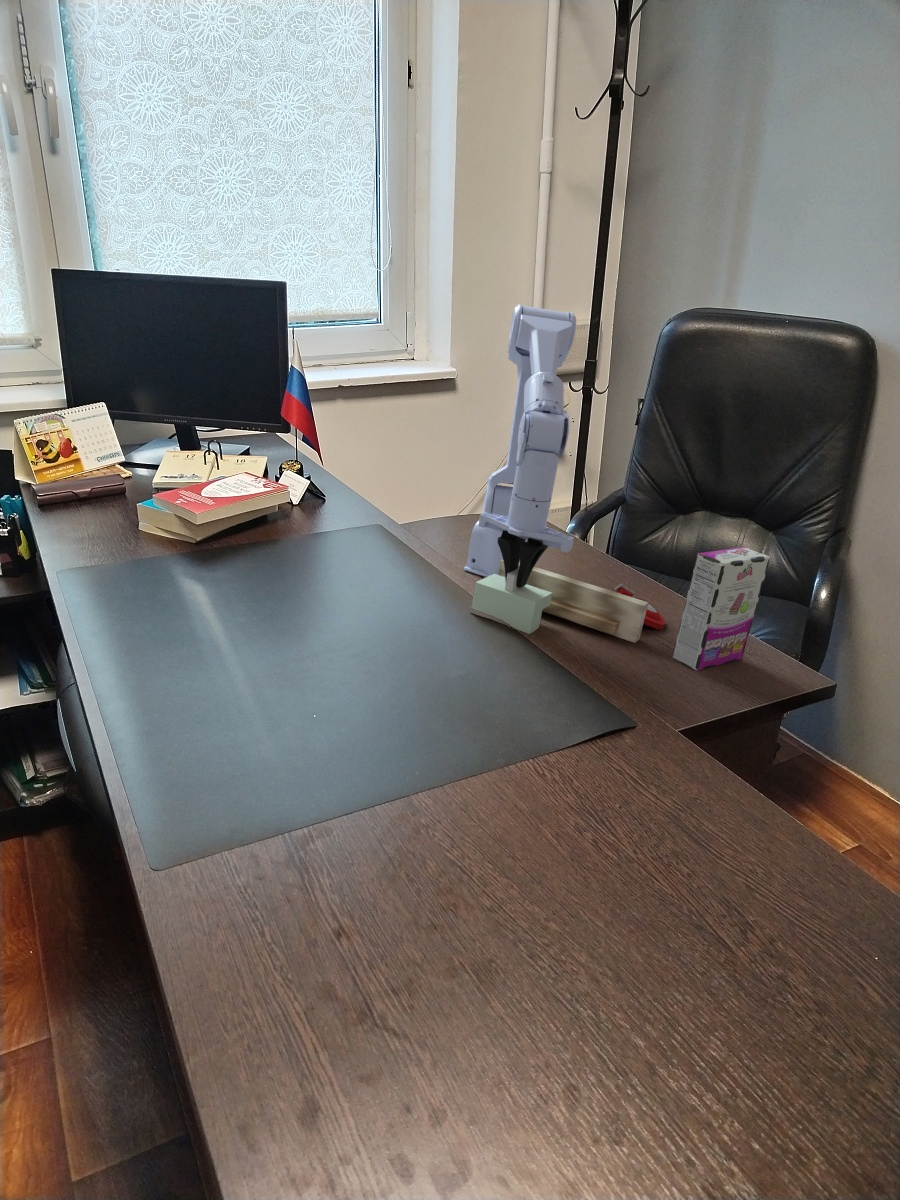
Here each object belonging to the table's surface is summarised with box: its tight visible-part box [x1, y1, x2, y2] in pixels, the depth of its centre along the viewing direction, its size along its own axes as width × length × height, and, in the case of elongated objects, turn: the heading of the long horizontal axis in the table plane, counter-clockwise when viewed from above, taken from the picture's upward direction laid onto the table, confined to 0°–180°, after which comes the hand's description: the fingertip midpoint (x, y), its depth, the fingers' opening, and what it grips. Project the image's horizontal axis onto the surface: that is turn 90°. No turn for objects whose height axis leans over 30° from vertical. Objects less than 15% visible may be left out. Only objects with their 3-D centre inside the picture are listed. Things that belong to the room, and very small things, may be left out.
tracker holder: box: [614, 583, 666, 630], centre depth 134 cm, size 12×4×10 cm
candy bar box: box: [671, 546, 771, 672], centre depth 120 cm, size 11×5×16 cm, turn 126°
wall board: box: [498, 560, 649, 644], centre depth 129 cm, size 24×4×6 cm, turn 59°
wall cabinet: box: [471, 568, 552, 635], centre depth 125 cm, size 10×6×8 cm, turn 59°
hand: (515, 584), depth 125 cm, fingers closed on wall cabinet
